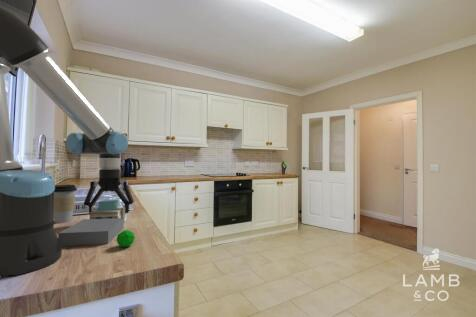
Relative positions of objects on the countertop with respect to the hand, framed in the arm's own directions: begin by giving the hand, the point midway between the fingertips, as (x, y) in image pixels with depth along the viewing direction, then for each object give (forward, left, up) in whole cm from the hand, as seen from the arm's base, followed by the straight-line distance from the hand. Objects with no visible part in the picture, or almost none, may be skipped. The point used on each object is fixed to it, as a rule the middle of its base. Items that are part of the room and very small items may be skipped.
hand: (109, 221), depth 96 cm
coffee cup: (+6, +20, -1) cm, 21 cm away
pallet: (0, 0, -1) cm, 1 cm away
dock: (-17, -1, -1) cm, 17 cm away
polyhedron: (-28, -14, -1) cm, 31 cm away
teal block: (0, 0, +5) cm, 5 cm away
